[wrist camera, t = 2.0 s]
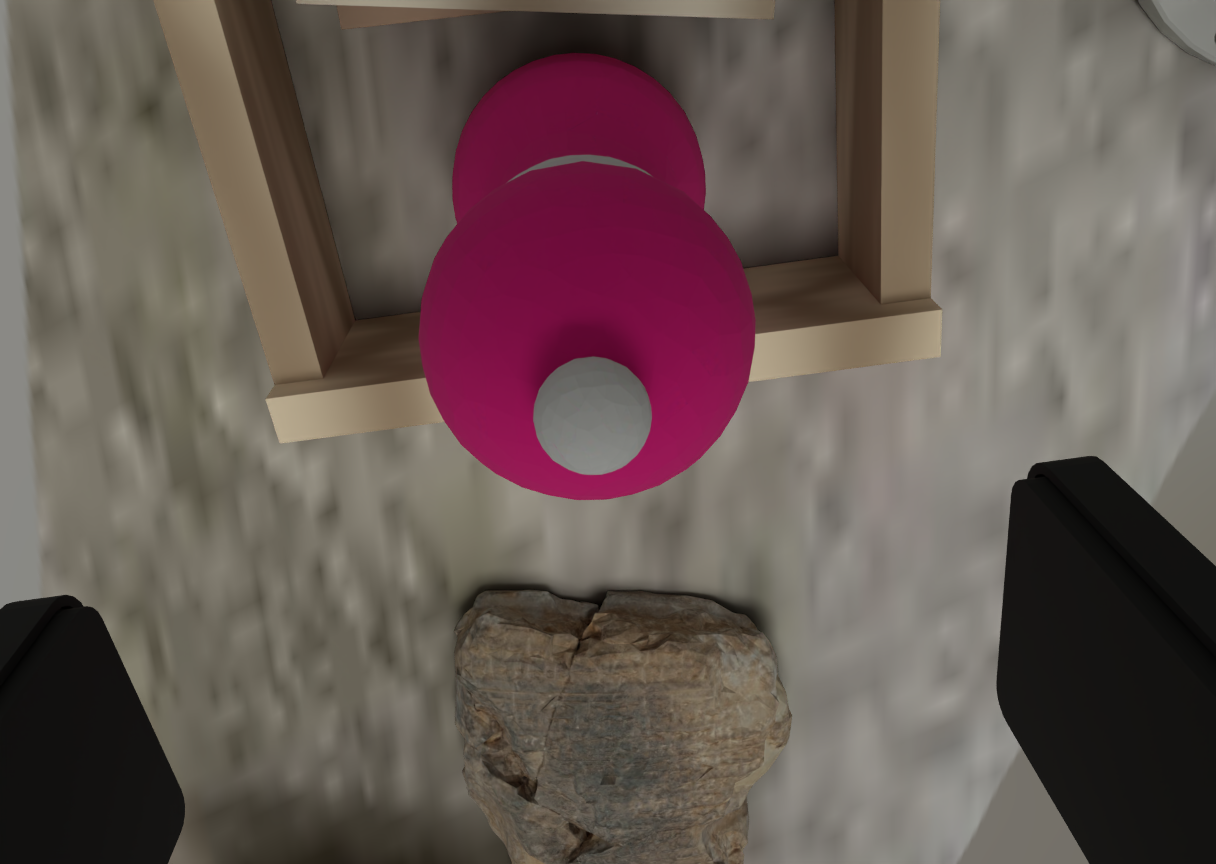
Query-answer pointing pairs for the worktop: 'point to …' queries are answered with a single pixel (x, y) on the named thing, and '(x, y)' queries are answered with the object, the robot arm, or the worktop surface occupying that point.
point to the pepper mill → (584, 286)
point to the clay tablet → (616, 725)
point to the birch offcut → (589, 6)
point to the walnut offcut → (395, 15)
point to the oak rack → (389, 346)
